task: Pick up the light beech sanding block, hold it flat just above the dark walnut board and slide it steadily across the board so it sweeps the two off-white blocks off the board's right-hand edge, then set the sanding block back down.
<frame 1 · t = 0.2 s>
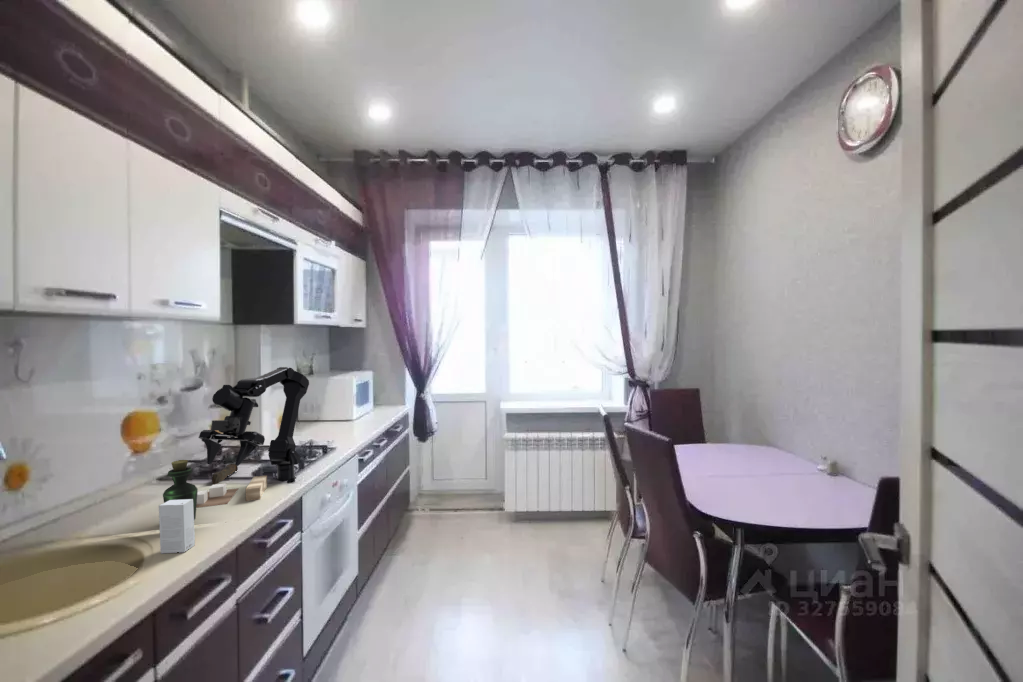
hand: (222, 464, 143), 14 cm above the countertop, tool tilted 30°, fingers open, 9 cm apart
hand tool: (225, 480, 175), on the countertop
walnut board: (208, 501, 152), on the countertop
chip a: (218, 494, 155), point 1 cm above the countertop, touching walnut board
potion bottle: (181, 525, 133), on the countertop
chip b: (198, 502, 148), point 1 cm above the countertop, touching walnut board
skincare box: (177, 550, 118), on the countertop
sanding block: (257, 496, 157), on the countertop
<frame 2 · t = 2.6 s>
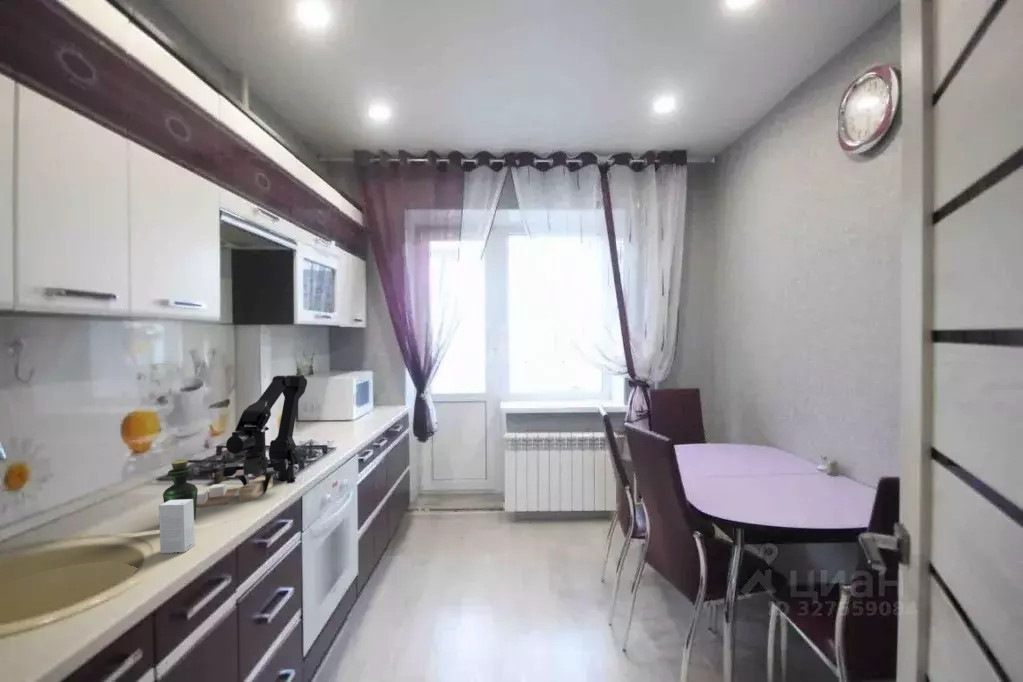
hand: (257, 493, 156), 1 cm above the countertop, tool pointing down, fingers closed on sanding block, 5 cm apart
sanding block: (257, 496, 157), on the countertop, touching gripper
everything else where it was.
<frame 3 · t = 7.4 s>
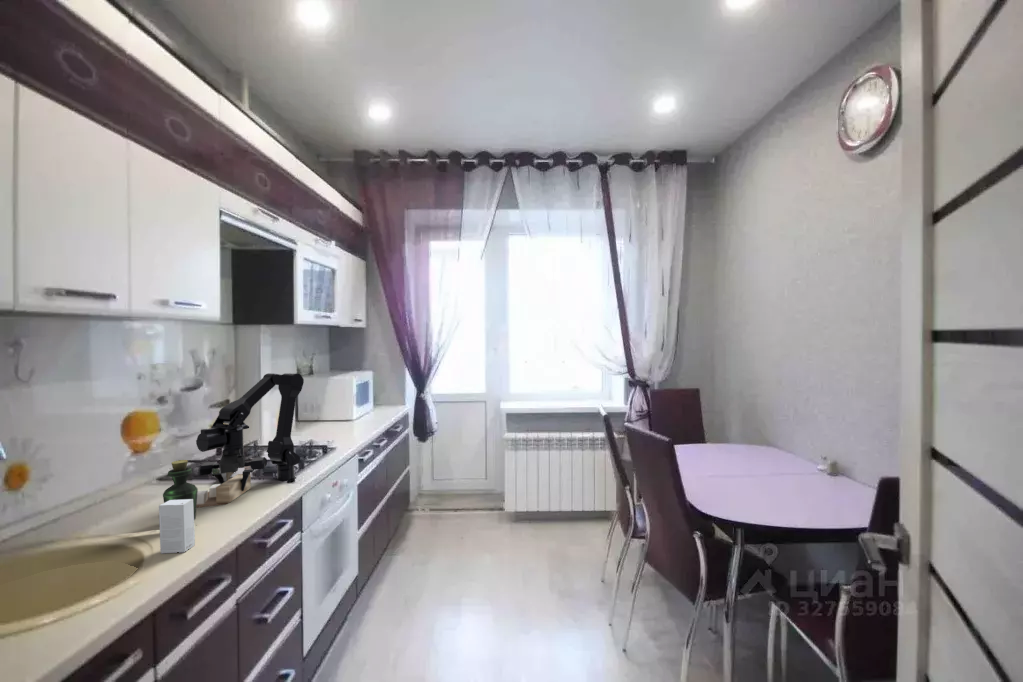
hand: (234, 491, 154), 2 cm above the countertop, tool pointing down, fingers closed on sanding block, 5 cm apart
chip a: (218, 494, 155), point 1 cm above the countertop, touching gripper
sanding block: (234, 495, 154), point 1 cm above the countertop, touching gripper
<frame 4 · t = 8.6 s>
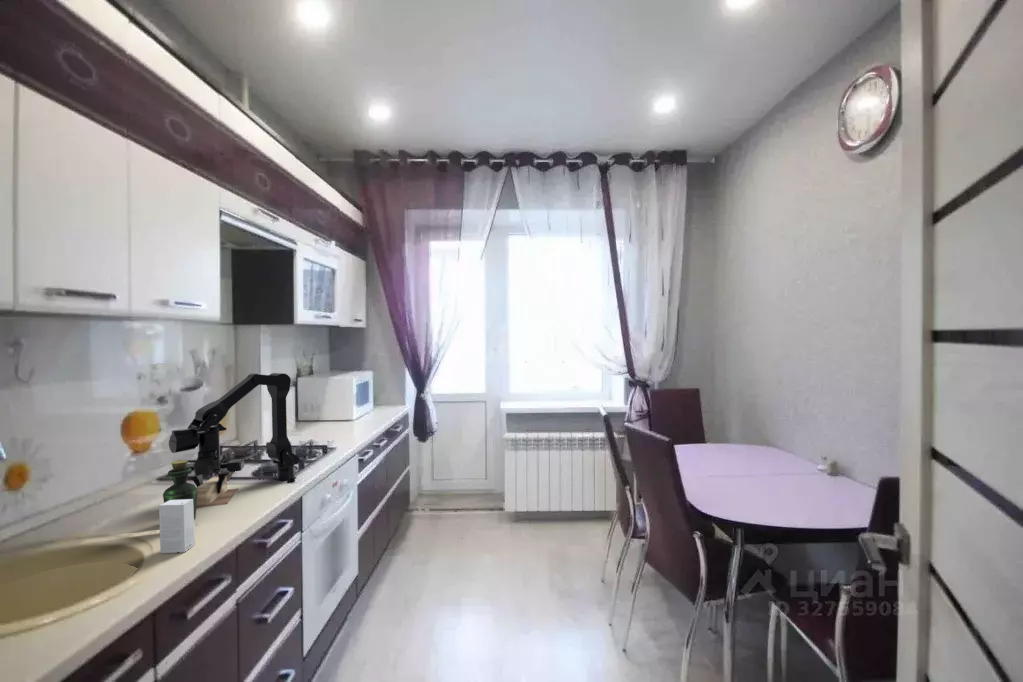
hand: (210, 494, 152), 2 cm above the countertop, tool pointing down, fingers closed on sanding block, 4 cm apart
chip a: (202, 495, 155), point 1 cm above the countertop, touching walnut board
chip b: (188, 503, 147), point 1 cm above the countertop, touching gripper, walnut board
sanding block: (210, 498, 152), point 1 cm above the countertop, touching gripper
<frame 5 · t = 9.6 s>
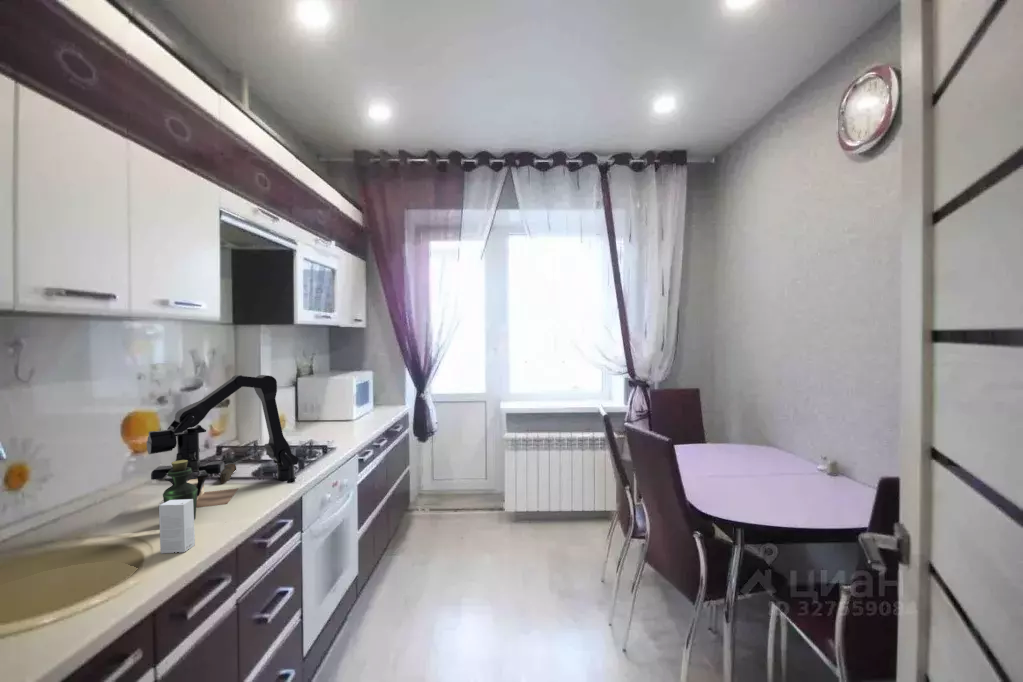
hand: (189, 496, 150), 2 cm above the countertop, tool pointing down, fingers open, 4 cm apart
chip a: (180, 500, 152), point 1 cm above the countertop, tilted 15°, touching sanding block
chip b: (172, 507, 146), on the countertop, tilted 15°, touching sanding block, walnut board
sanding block: (190, 500, 150), point 1 cm above the countertop, touching chip a, chip b, gripper, walnut board
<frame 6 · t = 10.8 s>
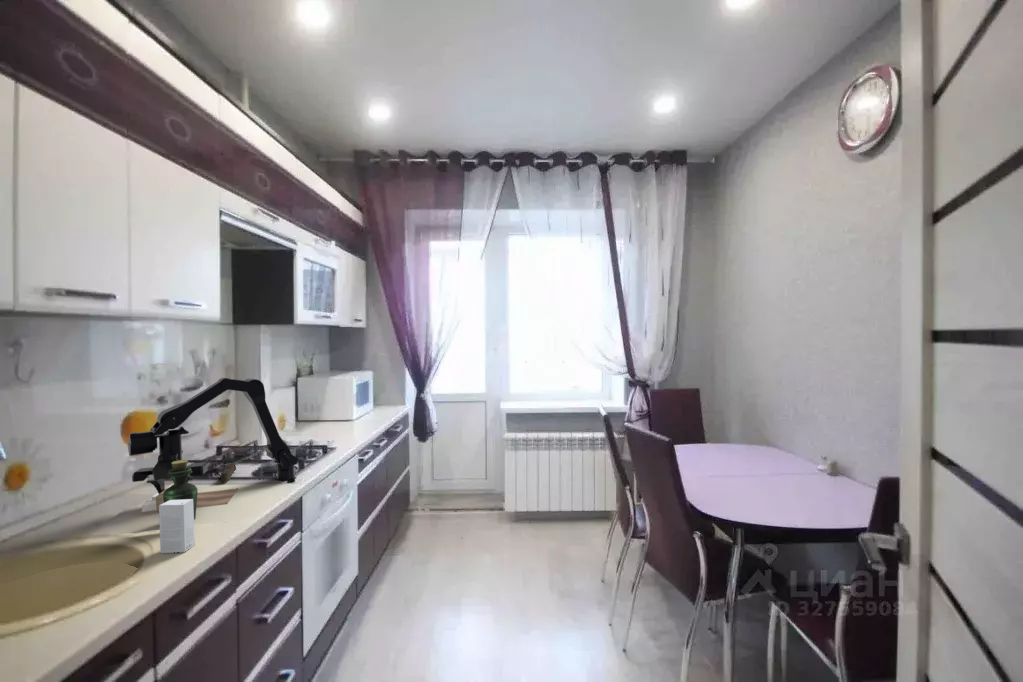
hand: (172, 498, 149), 2 cm above the countertop, tool pointing down, fingers open, 4 cm apart
chip a: (162, 503, 151), on the countertop
chip b: (153, 511, 144), on the countertop, touching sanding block
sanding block: (172, 504, 149), on the countertop, touching chip b, gripper
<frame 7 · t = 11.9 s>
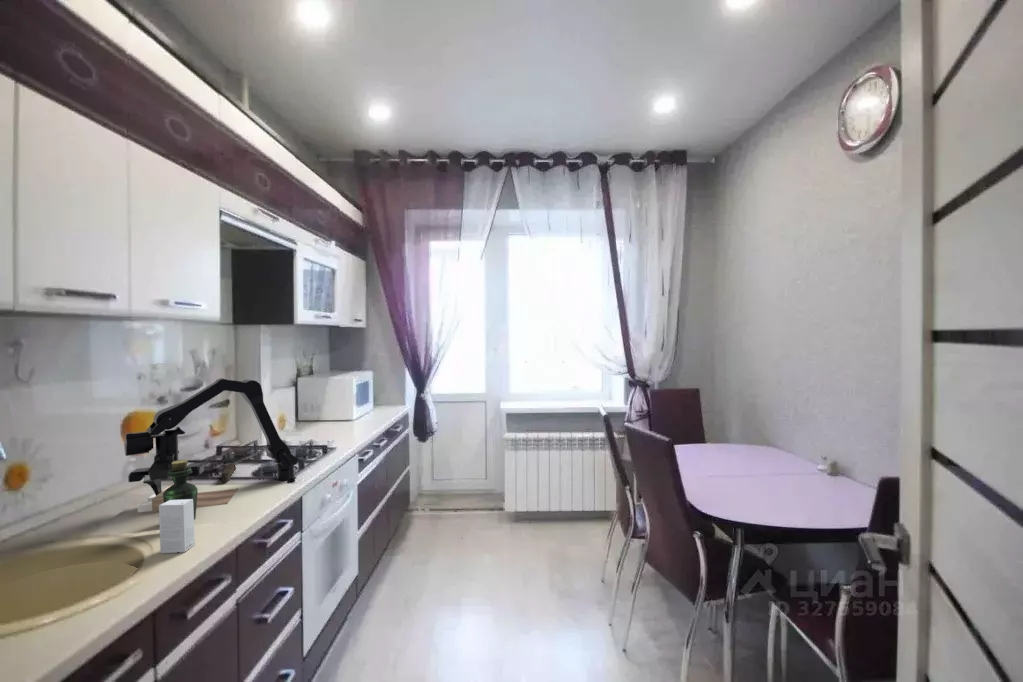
hand: (168, 499, 148), 2 cm above the countertop, tool pointing down, fingers open, 4 cm apart
chip a: (158, 504, 151), on the countertop
chip b: (148, 512, 143), on the countertop
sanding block: (168, 507, 148), on the countertop, touching gripper
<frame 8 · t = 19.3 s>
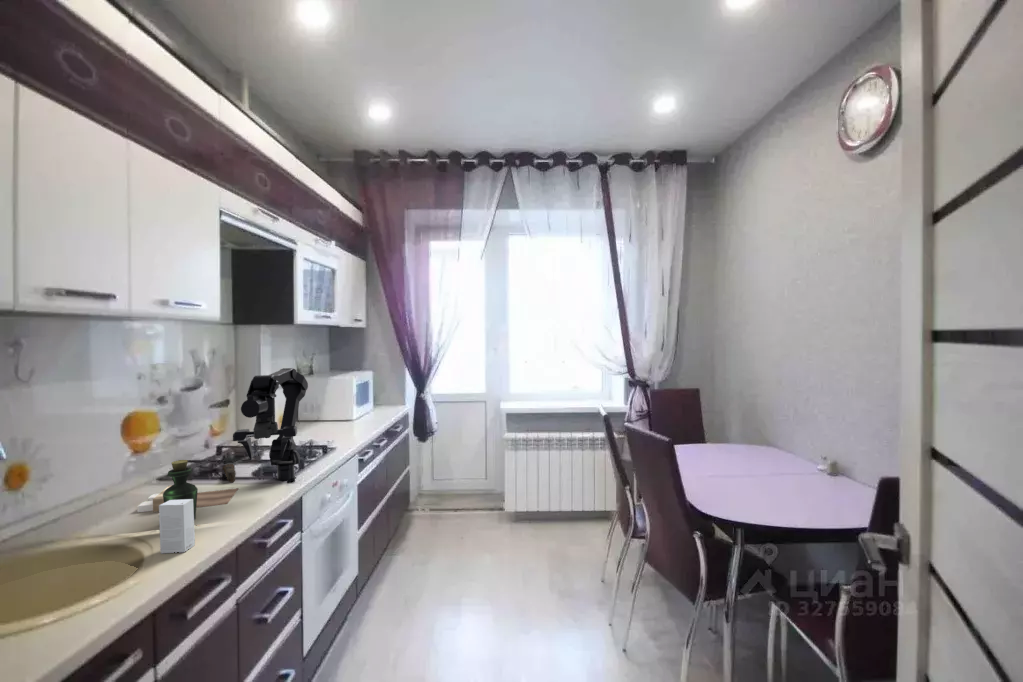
hand: (266, 458, 158), 12 cm above the countertop, tool pointing down, fingers open, 9 cm apart
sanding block: (169, 507, 148), on the countertop
at the end: chip a inside the target area (4.4 cm from its centre), on the countertop; chip b inside the target area (4.5 cm from its centre), on the countertop; the gripper is holding nothing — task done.
